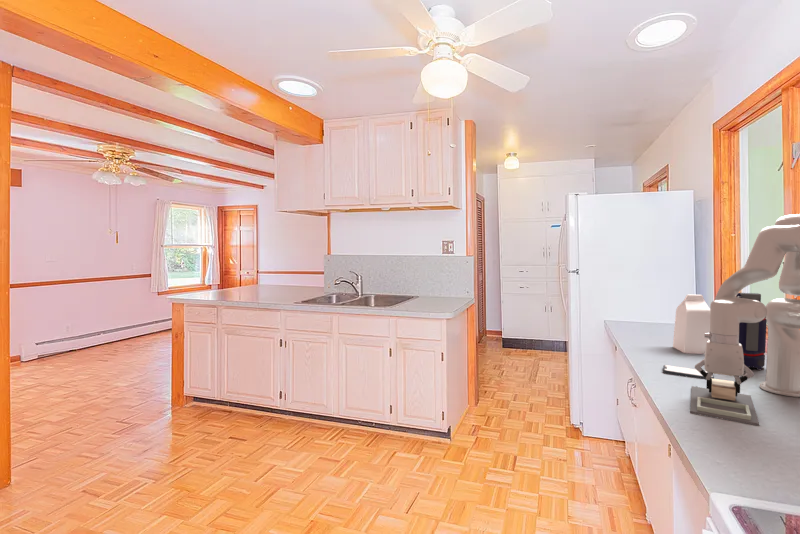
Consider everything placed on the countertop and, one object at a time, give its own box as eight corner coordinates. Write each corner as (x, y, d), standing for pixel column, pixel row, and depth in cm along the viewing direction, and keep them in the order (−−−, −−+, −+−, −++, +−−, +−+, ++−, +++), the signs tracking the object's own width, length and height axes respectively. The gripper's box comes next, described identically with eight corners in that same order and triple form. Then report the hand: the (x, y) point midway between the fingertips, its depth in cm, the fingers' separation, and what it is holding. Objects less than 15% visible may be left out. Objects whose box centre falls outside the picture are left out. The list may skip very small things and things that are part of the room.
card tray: (697, 410, 129) (697, 406, 129) (697, 400, 137) (697, 396, 137) (751, 420, 122) (751, 416, 122) (748, 409, 129) (748, 405, 129)
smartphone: (711, 375, 165) (663, 368, 173) (712, 371, 165) (663, 364, 173) (714, 382, 157) (663, 374, 166) (714, 377, 157) (663, 370, 166)
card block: (711, 388, 145) (711, 377, 145) (733, 391, 141) (733, 380, 141) (711, 397, 138) (711, 385, 137) (735, 400, 134) (735, 389, 134)
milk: (684, 353, 194) (686, 296, 193) (672, 346, 206) (674, 293, 204) (713, 354, 192) (716, 296, 191) (700, 347, 204) (702, 293, 202)
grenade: (723, 360, 182) (726, 290, 180) (759, 363, 177) (762, 291, 175) (732, 369, 170) (735, 294, 168) (770, 373, 165) (774, 295, 163)
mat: (691, 387, 150) (691, 386, 150) (750, 397, 140) (750, 395, 140) (690, 412, 128) (690, 410, 128) (759, 425, 119) (759, 423, 119)
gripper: (691, 338, 140) (690, 391, 141) (760, 344, 130) (758, 402, 131) (691, 333, 146) (691, 384, 147) (757, 339, 136) (755, 394, 138)
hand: (722, 392), depth 139 cm, fingers closed on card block, 6 cm apart
